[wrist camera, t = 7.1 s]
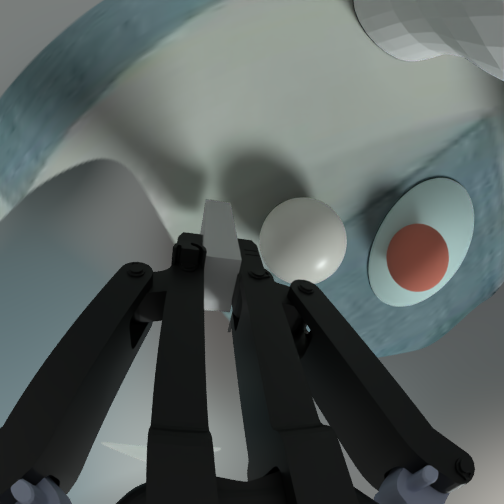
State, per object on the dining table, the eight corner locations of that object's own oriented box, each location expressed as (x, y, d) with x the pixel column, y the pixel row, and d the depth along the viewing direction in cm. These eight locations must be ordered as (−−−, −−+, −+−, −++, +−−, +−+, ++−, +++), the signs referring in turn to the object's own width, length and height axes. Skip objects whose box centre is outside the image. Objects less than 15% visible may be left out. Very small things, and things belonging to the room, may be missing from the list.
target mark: (449, 146, 18) (451, 146, 18) (481, 242, 24) (482, 242, 24) (339, 255, 22) (340, 257, 22) (400, 323, 28) (401, 324, 28)
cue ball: (331, 199, 13) (338, 182, 18) (233, 221, 16) (264, 199, 20) (351, 296, 15) (354, 256, 19) (262, 305, 17) (284, 267, 22)
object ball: (428, 217, 16) (456, 223, 18) (371, 224, 21) (407, 228, 24) (429, 298, 16) (458, 289, 18) (373, 293, 21) (408, 286, 23)
